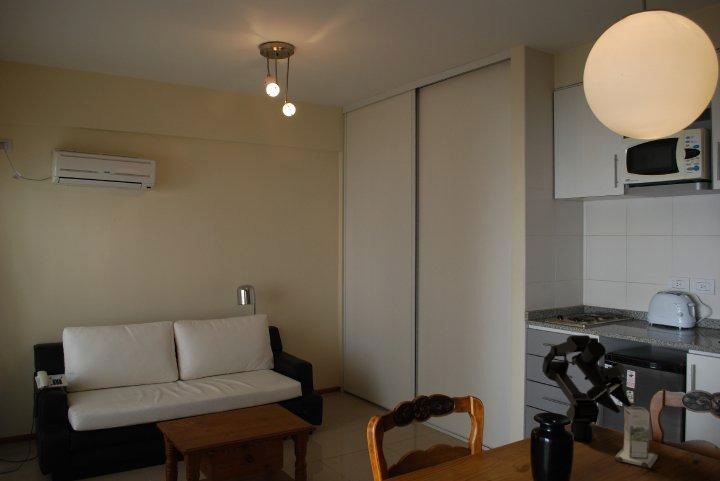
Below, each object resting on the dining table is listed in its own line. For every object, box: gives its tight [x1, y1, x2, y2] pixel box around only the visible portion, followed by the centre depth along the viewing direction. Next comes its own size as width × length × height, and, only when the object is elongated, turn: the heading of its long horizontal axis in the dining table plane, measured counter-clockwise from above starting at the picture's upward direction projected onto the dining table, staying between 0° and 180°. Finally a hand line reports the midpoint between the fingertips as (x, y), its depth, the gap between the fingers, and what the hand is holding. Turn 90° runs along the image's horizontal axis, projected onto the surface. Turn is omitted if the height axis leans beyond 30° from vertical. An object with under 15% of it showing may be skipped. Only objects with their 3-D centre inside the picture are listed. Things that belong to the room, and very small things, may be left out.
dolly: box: [614, 447, 658, 469], centre depth 181 cm, size 10×11×2 cm
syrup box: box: [623, 406, 651, 459], centre depth 182 cm, size 6×6×14 cm
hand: (624, 409), depth 188 cm, fingers open, 9 cm apart
